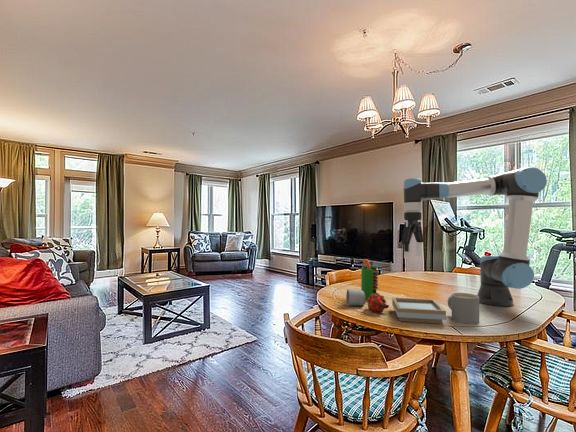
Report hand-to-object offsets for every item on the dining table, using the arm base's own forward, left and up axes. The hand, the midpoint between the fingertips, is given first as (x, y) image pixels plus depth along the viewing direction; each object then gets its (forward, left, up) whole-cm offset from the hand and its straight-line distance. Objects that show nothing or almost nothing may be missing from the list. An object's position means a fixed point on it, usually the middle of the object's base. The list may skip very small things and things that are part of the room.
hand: (413, 257), depth 145 cm
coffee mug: (-17, +12, -24) cm, 32 cm away
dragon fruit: (+17, +8, -24) cm, 30 cm away
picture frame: (+1, +13, -24) cm, 27 cm away
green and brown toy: (+19, -16, -24) cm, 35 cm away
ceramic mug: (+27, -2, -24) cm, 36 cm away
